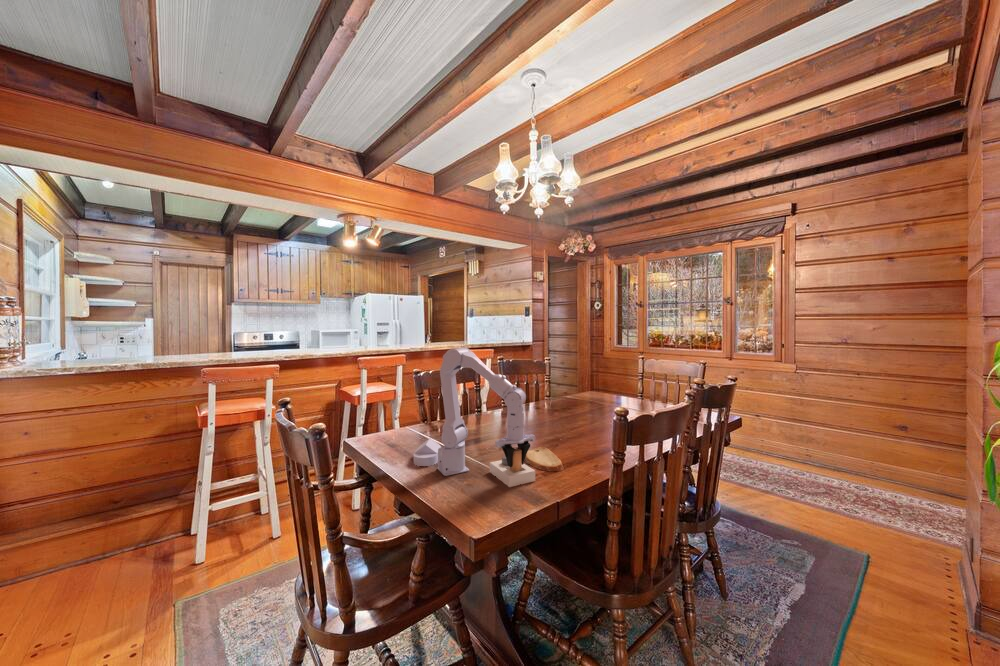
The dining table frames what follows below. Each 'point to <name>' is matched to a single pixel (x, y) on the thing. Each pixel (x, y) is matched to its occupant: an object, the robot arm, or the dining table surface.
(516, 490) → the dining table surface
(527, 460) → the bread slice
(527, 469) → the cream block with recess
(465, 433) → the robot arm
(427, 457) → the wedge on round base
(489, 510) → the dining table surface
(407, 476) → the dining table surface
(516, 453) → the orange tapered cylinder
